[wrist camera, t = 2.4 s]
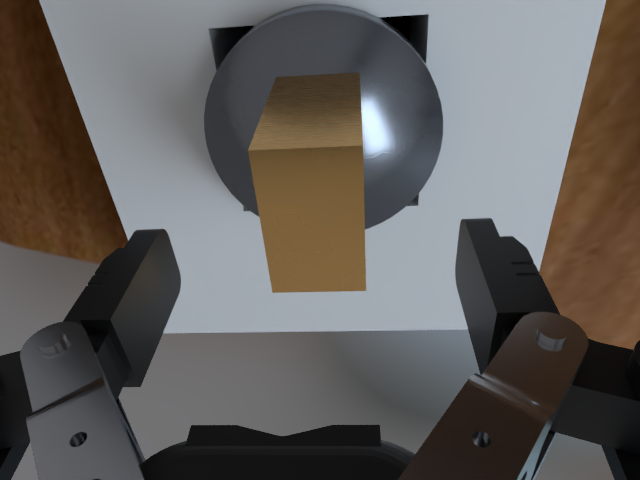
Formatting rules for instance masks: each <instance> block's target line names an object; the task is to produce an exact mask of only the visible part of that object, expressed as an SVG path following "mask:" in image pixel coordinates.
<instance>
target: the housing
mask: <svg viewBox="0 0 640 480" xmlns="http://www.w3.org/2000/svg"><path fill="white" fill-rule="evenodd" d="M39 2H40V4H41V7H42V10H43V12H44V15H45V18H46V20H47V23H48V26H49V29H50V31H51V34H52V37H53V39H54V42H55V45H56V47H57V50H58V53H59V55H60V58H61V61H62V64H63V66H64V69H65V72H66V74H67V77H68V80H69V82H70V85H71V88H72V90H73V93H74V96H75V99H76V101H77V104H78V107H79V109H80V112H81V115H82V117H83V120H84V123H85V125H86V128H87V131H88V134H89V136H90V139H91V142H92V144H93V147H94V150H95V152H96V155H97V158H98V160H99V163H100V166H101V168H102V171H103V174H104V177H105V179H106V182H107V185H108V187H109V190H110V193H111V195H112V198H113V201H114V203H115V206H116V209H117V212H118V214H119V217H120V220H121V222H122V225H123V228H124V230H125V233H126V236H127V238H128V241H129V239H130V238H131V236H132V234H133V233H134V232H135V231H136V230H143V229H165V230H166V231H167V233H168V235H169V238H170V241H171V245H172V248H173V251H174V254H175V258H176V261H177V264H178V268H179V271H180V276H181V288H180V293H179V296H178V298H177V300H176V303H175V305H174V308H173V310H172V312H171V315H170V317H169V320H168V322H167V324H166V327H165V329H164V332H163V333H217V332H220V333H221V332H296V331H297V332H301V331H382V330H459V329H460V330H462V329H468V327H467V323H466V319H465V316H464V312H463V308H462V305H461V301H460V298H459V294H458V290H457V286H456V278H455V264H456V255H457V246H458V237H459V228H460V222H461V220H462V219H476V218H491V219H492V220H493V222H494V224H495V226H496V229H497V231H498V233H499V236H500V237H501V236H513V237H514V238H516V239H517V240H518V241H519V242H520V243H522V244H523V245H524V246H525V247H526V248H527V249H528V251H529V253H530V255H531V257H532V259H533V261H534V264H535V265H536V267H537V269H538V271H539V270H540V266H541V262H542V258H543V254H544V250H545V245H546V241H547V237H548V233H549V229H550V225H551V221H552V217H553V213H554V209H555V205H556V201H557V197H558V193H559V189H560V185H561V181H562V177H563V173H564V169H565V165H566V161H567V157H568V152H569V148H570V144H571V140H572V136H573V132H574V128H575V124H576V120H577V116H578V112H579V108H580V104H581V100H582V96H583V92H584V88H585V84H586V80H587V76H588V72H589V68H590V64H591V60H592V55H593V51H594V47H595V43H596V39H597V35H598V31H599V27H600V23H601V19H602V15H603V11H604V7H605V3H606V0H39ZM311 4H335V5H342V6H349V7H352V8H356V9H359V10H362V11H366V12H368V13H370V14H372V15H374V16H376V17H393V16H409V15H411V23H410V42H411V43H412V45H413V46H414V47H415V48H416V49H417V50H418V52H419V54H420V55H421V57H422V58H423V60H424V61H425V63H426V65H427V67H428V69H429V72H430V74H431V76H432V78H433V81H434V83H435V86H436V88H437V91H438V95H439V98H440V102H441V106H442V114H443V138H442V144H441V150H440V153H439V156H438V160H437V163H436V165H435V167H434V169H433V172H432V174H431V176H430V178H429V179H428V181H427V182H426V184H425V186H424V187H423V188H422V190H421V191H420V192H419V193H418V195H417V196H416V197H415V198H414V199H413V200H412V201H411V202H410V203H409V204H408V205H407V206H406V207H405V208H404V209H402V210H401V211H400V212H398V213H397V214H395V215H394V216H393V217H391V218H389V219H387V220H386V221H384V222H382V223H380V224H378V225H375V226H373V227H371V228H368V229H365V259H366V291H340V292H287V293H272V287H271V282H270V276H269V270H268V264H267V258H266V252H265V247H264V241H263V235H262V229H261V223H260V217H259V216H257V215H255V214H254V213H252V212H251V211H250V210H248V209H247V208H246V207H245V206H243V205H242V204H241V203H240V202H239V201H238V200H237V199H236V198H235V197H234V196H233V195H232V194H231V192H230V191H229V190H228V189H227V187H226V186H225V185H224V183H223V182H222V180H221V178H220V177H219V175H218V173H217V172H216V170H215V167H214V165H213V163H212V161H211V158H210V155H209V152H208V148H207V145H206V139H205V132H204V112H205V104H206V98H207V95H208V91H209V88H210V85H211V82H212V80H213V78H214V76H215V73H216V71H217V70H218V68H219V67H220V65H221V63H222V62H223V60H224V59H225V57H226V56H227V54H228V53H229V52H230V50H231V49H232V48H233V46H234V45H235V44H236V43H237V42H238V41H239V39H240V38H241V37H242V36H243V35H244V31H243V26H255V25H257V24H258V23H260V22H261V21H263V20H265V19H266V18H268V17H270V16H272V15H274V14H277V13H279V12H281V11H284V10H287V9H291V8H294V7H298V6H304V5H311Z"/></svg>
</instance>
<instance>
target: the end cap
mask: <svg viewBox="0 0 640 480" xmlns="http://www.w3.org/2000/svg"><path fill="white" fill-rule="evenodd" d="M204 132H205V139H206V145H207V148H208V152H209V155H210V158H211V161H212V163H213V165H214V167H215V170H216V172H217V173H218V175H219V177H220V178H221V180H222V182H223V183H224V185H225V186H226V187H227V189H228V190H229V191H230V192H231V194H232V195H233V196H234V197H235V198H236V199H237V200H238V201H239V202H240V203H241V204H242V205H243V206H245V207H246V208H247V209H248V210H250V211H251V212H252V213H254V214H255V215H257V216H259V217H260V223H261V229H262V235H263V241H264V247H265V252H266V258H267V264H268V270H269V276H270V282H271V287H272V293H287V292H340V291H366V259H365V229H368V228H371V227H373V226H375V225H378V224H380V223H382V222H384V221H386V220H387V219H389V218H391V217H393V216H394V215H395V214H397V213H398V212H400V211H401V210H402V209H404V208H405V207H406V206H407V205H408V204H409V203H410V202H411V201H412V200H413V199H414V198H415V197H416V196H417V195H418V193H419V192H420V191H421V190H422V188H423V187H424V186H425V184H426V182H427V181H428V179H429V178H430V176H431V174H432V172H433V169H434V167H435V165H436V163H437V160H438V156H439V153H440V150H441V144H442V138H443V114H442V106H441V102H440V98H439V95H438V91H437V88H436V86H435V83H434V81H433V78H432V76H431V74H430V72H429V69H428V67H427V65H426V63H425V61H424V60H423V58H422V57H421V55H420V54H419V52H418V50H417V49H416V48H415V47H414V46H413V45H412V43H411V42H410V41H409V40H408V39H407V38H406V37H405V36H404V35H403V34H402V33H400V32H399V31H398V30H397V29H396V28H395V27H393V26H392V25H390V24H388V23H387V22H385V21H384V20H382V19H381V18H379V17H376V16H374V15H372V14H370V13H368V12H366V11H362V10H359V9H356V8H352V7H349V6H342V5H335V4H311V5H304V6H298V7H294V8H291V9H287V10H284V11H281V12H279V13H277V14H274V15H272V16H270V17H268V18H266V19H265V20H263V21H261V22H260V23H258V24H257V25H255V26H254V27H252V28H251V29H250V30H249V31H248V32H247V33H246V34H244V35H243V36H242V37H241V38H240V39H239V41H238V42H237V43H236V44H235V45H234V46H233V48H232V49H231V50H230V52H229V53H228V54H227V56H226V57H225V59H224V60H223V62H222V63H221V65H220V67H219V68H218V70H217V71H216V73H215V76H214V78H213V80H212V82H211V85H210V88H209V91H208V95H207V98H206V104H205V112H204Z"/></svg>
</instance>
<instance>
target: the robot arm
mask: <svg viewBox="0 0 640 480" xmlns="http://www.w3.org/2000/svg"><path fill="white" fill-rule="evenodd" d="M455 278H456V286H457V290H458V294H459V298H460V301H461V305H462V308H463V312H464V316H465V319H466V323H467V327H468V330H469V334H470V338H471V341H472V345H473V349H474V352H475V356H476V360H477V363H478V367H479V371H480V374H481V376H480V375H478V374H473V375H472V376H471V377H470V378H469V379H468V381H467V382H466V384H465V385H464V386H463V388H462V389H461V391H460V392H459V393H458V395H457V396H456V398H455V399H454V400H453V402H452V403H451V405H450V406H449V408H448V409H447V410H446V412H445V413H444V415H443V416H442V418H441V419H440V420H439V422H438V423H437V425H436V426H435V428H434V429H433V430H432V432H431V433H430V435H429V436H428V438H427V439H426V440H425V442H424V443H423V445H422V446H421V447H420V449H419V450H418V452H417V453H416V454H414V453H412V452H410V451H409V450H407V449H405V448H403V447H401V446H398V445H396V444H393V443H390V442H387V441H383V440H381V438H380V425H331V426H326V427H322V428H318V429H314V430H310V431H306V432H301V433H297V434H293V435H289V436H277V435H273V434H269V433H265V432H261V431H257V430H253V429H249V428H245V427H241V426H237V425H192V426H191V428H190V431H189V435H188V438H187V441H184V442H181V443H178V444H175V445H172V446H170V447H168V448H166V449H164V450H162V451H160V452H158V453H156V454H154V455H153V456H151V457H150V458H148V459H147V460H145V458H144V456H143V453H142V451H141V449H140V446H139V444H138V442H137V439H136V437H135V435H134V432H133V430H132V427H131V425H130V423H129V420H128V418H127V416H126V413H125V411H124V409H123V406H122V404H121V402H120V400H119V397H118V396H119V394H120V392H121V390H122V388H123V387H140V386H141V384H142V382H143V379H144V377H145V374H146V372H147V370H148V368H149V365H150V362H151V360H152V358H153V355H154V353H155V351H156V348H157V346H158V344H159V341H160V339H161V336H162V334H163V332H164V329H165V327H166V324H167V322H168V320H169V317H170V315H171V312H172V310H173V308H174V305H175V303H176V300H177V298H178V296H179V293H180V288H181V276H180V271H179V268H178V264H177V261H176V258H175V254H174V251H173V248H172V245H171V241H170V238H169V235H168V233H167V231H166V230H165V229H143V230H136V231H135V232H134V233H133V234H132V236H131V238H130V239H129V241H128V243H127V244H126V246H125V247H124V248H118V249H117V250H115V251H114V252H113V253H112V254H110V255H109V256H108V257H106V258H105V259H104V260H103V261H102V263H101V264H100V266H99V268H98V269H97V271H96V272H95V275H94V276H93V277H92V278H91V280H90V281H89V283H88V286H86V287H85V289H84V290H83V292H82V293H81V295H80V296H79V298H78V299H77V301H76V302H75V304H74V305H73V307H72V308H71V310H70V311H69V313H68V315H67V316H66V318H65V319H64V321H63V322H58V323H55V324H52V325H49V326H47V327H45V328H43V329H41V330H39V331H38V332H36V333H35V334H33V335H32V336H31V337H30V338H29V339H28V340H27V341H26V342H25V344H24V345H23V347H22V349H21V351H18V352H14V353H10V354H6V355H2V356H0V480H11V478H12V476H13V474H14V472H15V470H16V469H17V467H18V465H19V462H20V461H21V459H22V457H23V455H24V453H25V451H26V449H27V447H28V445H29V443H30V441H31V446H32V450H33V455H34V460H35V464H36V469H37V474H38V479H39V480H535V478H536V476H537V474H538V472H539V469H540V468H541V465H542V463H543V461H544V459H545V457H546V455H547V453H548V451H549V449H550V447H551V445H552V443H553V441H554V439H555V437H556V435H557V433H561V434H564V435H568V436H571V437H575V438H578V439H582V440H586V441H589V442H593V443H596V444H600V445H602V448H603V451H604V453H605V456H606V459H607V461H608V464H609V466H610V469H611V471H612V474H613V477H614V479H615V480H640V340H639V341H638V342H637V344H636V346H635V348H634V350H631V349H627V348H622V347H617V346H613V345H608V344H604V343H600V342H596V341H593V340H591V339H588V338H587V336H586V333H585V332H584V331H583V329H582V328H581V327H580V326H579V325H578V324H576V323H575V322H574V321H572V320H570V319H569V318H566V317H564V316H562V315H560V313H559V311H558V309H557V307H556V305H555V303H554V301H553V299H552V297H551V295H550V293H549V291H548V289H547V287H546V285H545V283H544V281H543V279H542V277H541V275H539V271H538V269H537V267H536V265H535V264H534V261H533V259H532V257H531V255H530V253H529V251H528V249H527V248H526V247H525V246H524V245H523V244H522V243H520V242H519V241H518V240H517V239H516V238H514V237H513V236H501V237H500V236H499V233H498V231H497V229H496V226H495V224H494V222H493V220H492V219H491V218H476V219H462V220H461V222H460V228H459V237H458V246H457V255H456V264H455Z"/></svg>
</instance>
